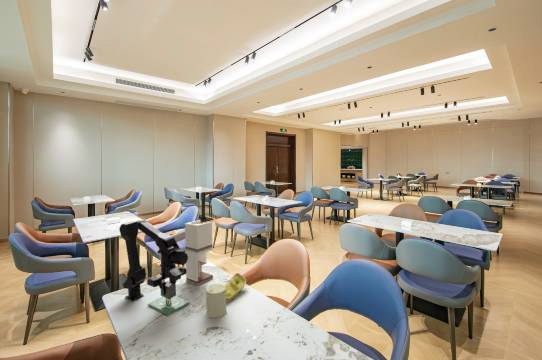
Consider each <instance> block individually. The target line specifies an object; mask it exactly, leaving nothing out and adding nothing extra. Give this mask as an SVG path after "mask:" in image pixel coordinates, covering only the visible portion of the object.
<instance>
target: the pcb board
mask: <svg viewBox="0 0 542 360" xmlns="http://www.w3.org/2000/svg"><path fill="white" fill-rule="evenodd" d="M147 305H148V306H149V307H150V308H153V309H155V310H156V311H159V312H160V313H163V314H164V315H166V316H169V315H172V314H173V313H175V312H177V311H179V310H181V309H182V308H185V307H186V306H187V305H190V302H189V301H188V300H186V299H183V298H181V297H178V296H177V295H176V296H174V297H172V298H170V299H168V298H165V297H163V296H161V297H158V298H156V299H155V300H153V301H150V302H148V303H147Z"/></svg>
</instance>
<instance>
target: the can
mask: <svg viewBox="0 0 542 360" xmlns="http://www.w3.org/2000/svg"><path fill="white" fill-rule="evenodd" d="M205 290H206V316H207V317H208V318H213V319H216V318H221V317H224V316H225V315H226V314H227V302H226V287H225V285H224V284H219V283H218V284H216V283H215V284H211V285H209V286H207V287H206V289H205Z"/></svg>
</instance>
